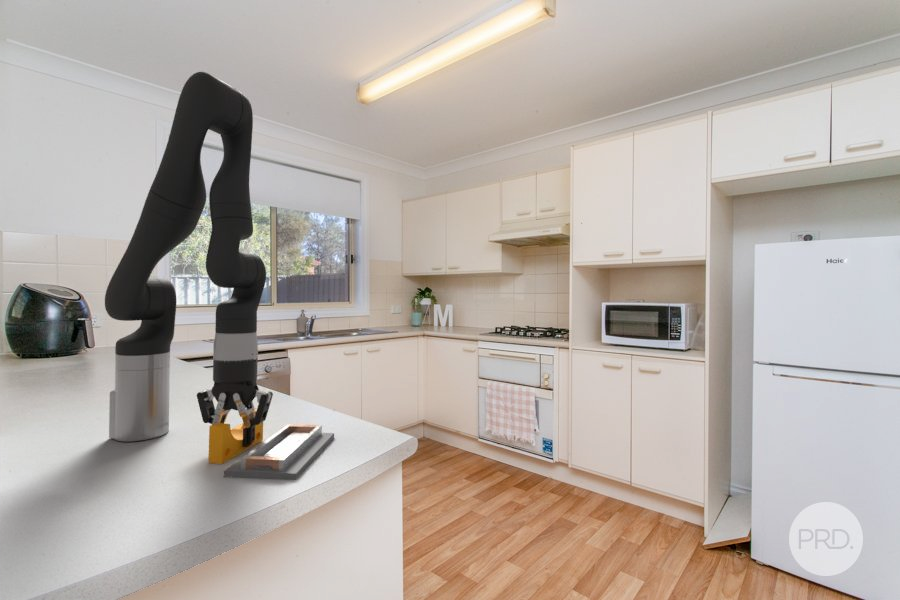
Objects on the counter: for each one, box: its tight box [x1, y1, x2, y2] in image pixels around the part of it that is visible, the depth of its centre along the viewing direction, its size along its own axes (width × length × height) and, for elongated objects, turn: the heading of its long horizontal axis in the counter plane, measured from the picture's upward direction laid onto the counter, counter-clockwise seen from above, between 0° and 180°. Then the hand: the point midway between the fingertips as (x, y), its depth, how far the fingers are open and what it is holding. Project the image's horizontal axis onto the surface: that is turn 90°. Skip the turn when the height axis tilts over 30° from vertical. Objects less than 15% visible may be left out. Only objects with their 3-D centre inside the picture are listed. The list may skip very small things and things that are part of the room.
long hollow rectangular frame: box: [240, 423, 323, 471], centre depth 77 cm, size 7×18×2 cm, turn 178°
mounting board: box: [223, 432, 335, 481], centre depth 77 cm, size 12×20×1 cm, turn 178°
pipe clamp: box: [207, 407, 264, 465], centre depth 79 cm, size 12×4×6 cm, turn 171°
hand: (234, 444), depth 79 cm, fingers closed on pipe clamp, 4 cm apart
